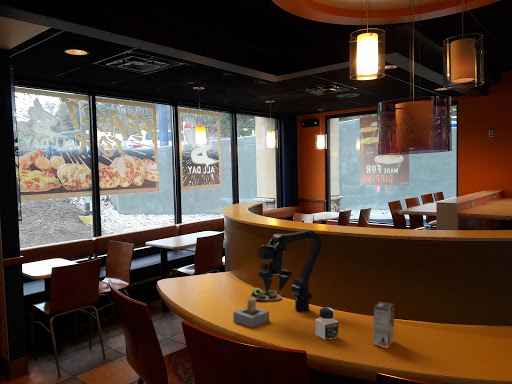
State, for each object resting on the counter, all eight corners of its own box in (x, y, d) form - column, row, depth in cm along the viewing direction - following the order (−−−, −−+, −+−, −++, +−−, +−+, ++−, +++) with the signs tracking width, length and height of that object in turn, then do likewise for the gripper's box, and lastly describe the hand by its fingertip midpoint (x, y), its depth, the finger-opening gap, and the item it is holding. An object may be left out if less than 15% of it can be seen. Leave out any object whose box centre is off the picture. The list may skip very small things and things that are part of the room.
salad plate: (281, 292, 236) (281, 284, 236) (288, 301, 218) (288, 293, 218) (249, 293, 233) (249, 285, 233) (253, 303, 216) (253, 294, 216)
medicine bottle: (325, 340, 166) (325, 312, 165) (314, 334, 172) (315, 307, 172) (338, 337, 169) (338, 310, 169) (328, 331, 175) (328, 305, 175)
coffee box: (378, 337, 169) (379, 300, 168) (394, 341, 166) (394, 303, 165) (372, 345, 161) (373, 306, 161) (388, 349, 158) (389, 309, 157)
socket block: (250, 314, 197) (250, 305, 196) (269, 320, 188) (269, 311, 188) (233, 321, 188) (233, 311, 188) (251, 327, 180) (251, 318, 179)
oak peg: (257, 319, 189) (257, 298, 189) (253, 321, 185) (253, 300, 185) (249, 317, 191) (249, 297, 190) (245, 320, 187) (245, 299, 187)
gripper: (278, 256, 207) (274, 286, 207) (252, 257, 194) (248, 288, 194) (294, 260, 199) (290, 291, 199) (268, 261, 186) (264, 294, 186)
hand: (273, 291), depth 195 cm, fingers open, 9 cm apart
